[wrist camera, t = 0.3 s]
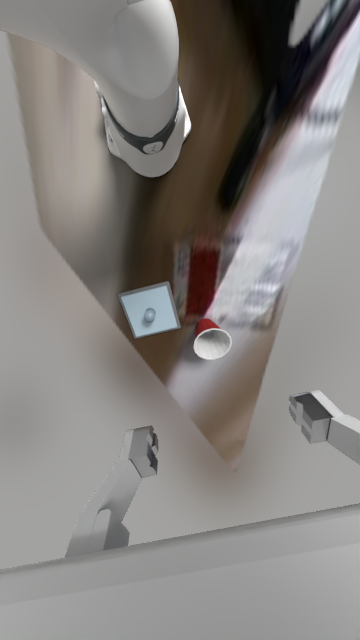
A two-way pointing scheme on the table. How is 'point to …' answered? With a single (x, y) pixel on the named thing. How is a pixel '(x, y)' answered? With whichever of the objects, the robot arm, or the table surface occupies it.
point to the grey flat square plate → (145, 290)
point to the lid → (150, 311)
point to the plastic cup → (211, 340)
